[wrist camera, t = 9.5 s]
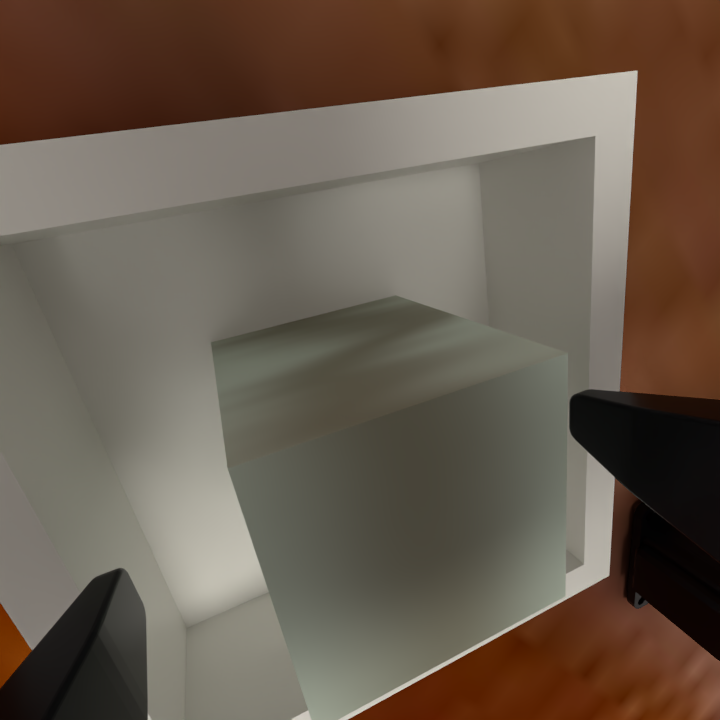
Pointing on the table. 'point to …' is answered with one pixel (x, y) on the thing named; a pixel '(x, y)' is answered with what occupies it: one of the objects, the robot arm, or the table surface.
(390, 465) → the mint block
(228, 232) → the bin
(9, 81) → the table surface
